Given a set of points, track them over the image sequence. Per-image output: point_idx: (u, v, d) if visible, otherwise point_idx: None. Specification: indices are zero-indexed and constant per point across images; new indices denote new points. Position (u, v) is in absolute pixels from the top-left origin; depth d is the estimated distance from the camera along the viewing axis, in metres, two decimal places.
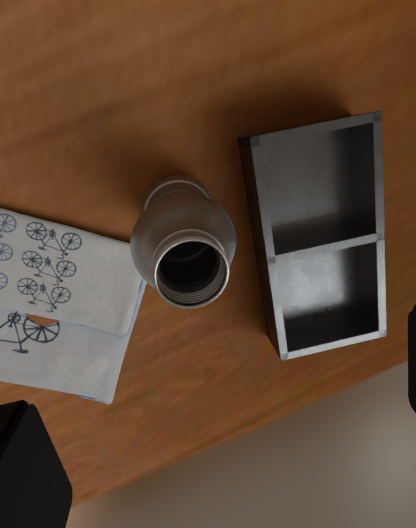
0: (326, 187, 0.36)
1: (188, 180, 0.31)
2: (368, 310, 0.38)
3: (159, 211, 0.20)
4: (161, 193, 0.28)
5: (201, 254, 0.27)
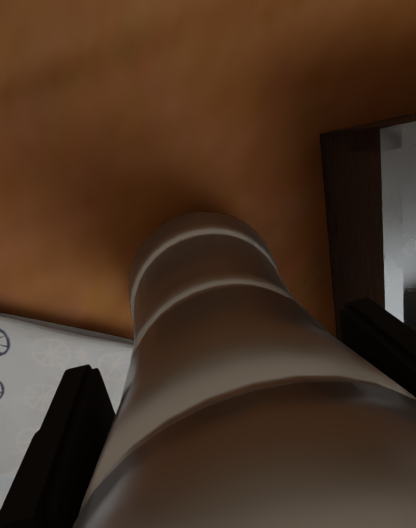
0: None
1: (230, 227, 0.14)
2: None
3: None
4: (173, 275, 0.11)
5: None
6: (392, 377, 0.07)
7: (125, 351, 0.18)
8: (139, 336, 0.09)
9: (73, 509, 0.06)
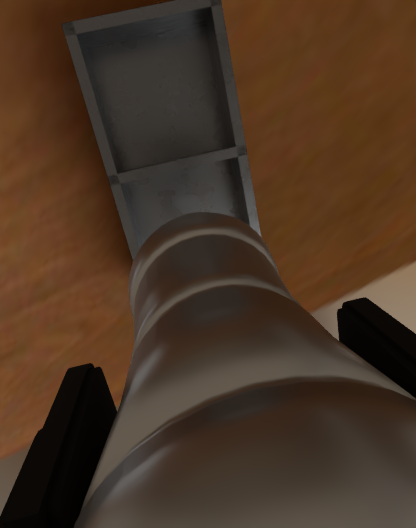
0: (186, 101, 0.31)
1: (230, 228, 0.14)
2: None
3: None
4: (173, 276, 0.11)
5: None
6: (389, 377, 0.07)
7: None
8: (139, 336, 0.09)
9: (77, 506, 0.06)
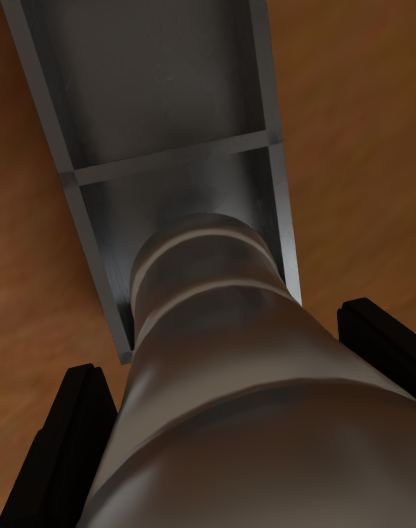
0: (188, 60, 0.20)
1: (231, 228, 0.14)
2: None
3: None
4: (174, 276, 0.11)
5: None
6: (389, 377, 0.07)
7: None
8: (140, 337, 0.09)
9: (77, 507, 0.06)
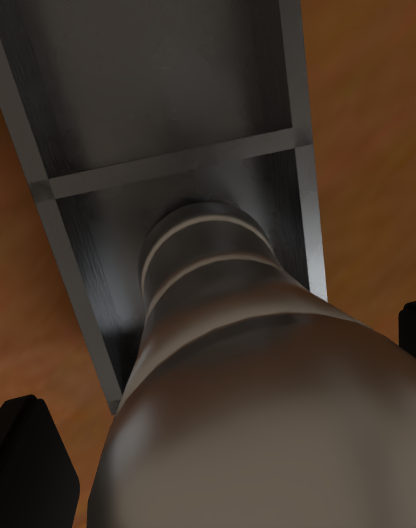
0: (193, 42, 0.16)
1: (231, 215, 0.15)
2: None
3: (214, 470, 0.04)
4: (181, 254, 0.12)
5: None
6: None
7: None
8: (151, 305, 0.11)
9: None
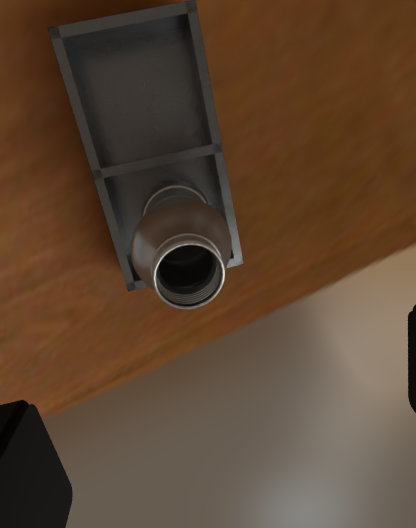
0: (168, 101, 0.33)
1: (185, 185, 0.32)
2: None
3: (157, 217, 0.20)
4: (159, 198, 0.29)
5: (199, 257, 0.28)
6: None
7: None
8: None
9: None
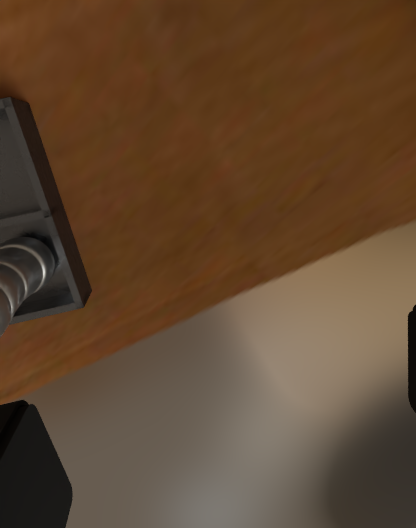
0: (13, 169, 0.39)
1: (21, 244, 0.37)
2: None
3: None
4: None
5: None
6: None
7: None
8: None
9: None
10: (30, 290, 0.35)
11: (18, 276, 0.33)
